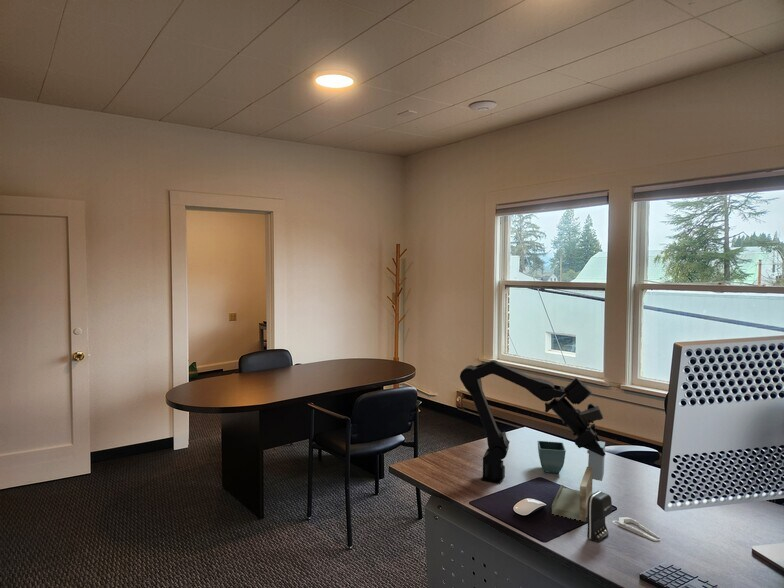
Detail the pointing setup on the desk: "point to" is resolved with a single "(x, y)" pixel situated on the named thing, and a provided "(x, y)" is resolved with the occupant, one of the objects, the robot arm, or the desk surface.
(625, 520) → the white looped flat piece
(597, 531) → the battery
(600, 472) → the cabinet block
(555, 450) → the flower pot
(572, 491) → the cream open holder
